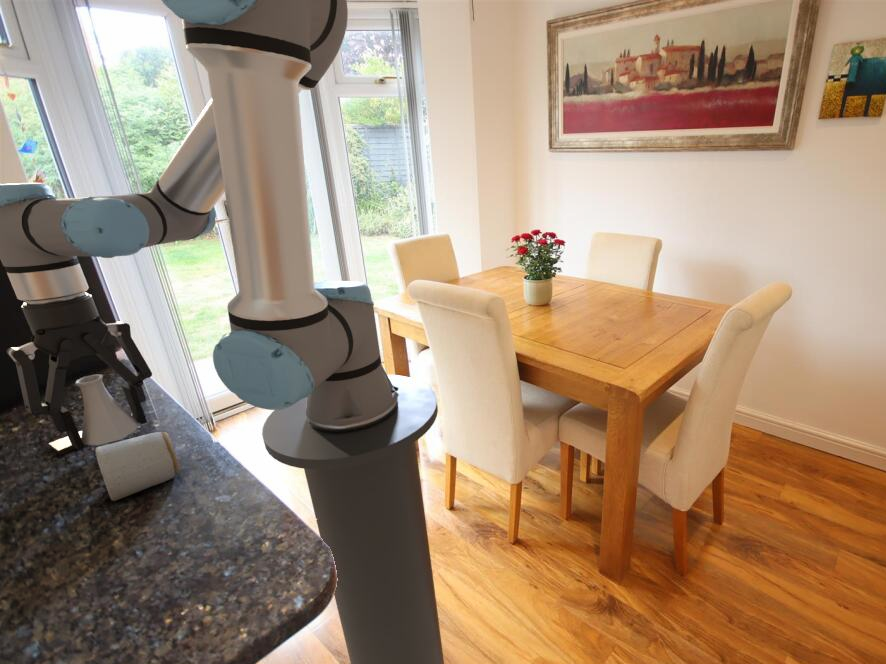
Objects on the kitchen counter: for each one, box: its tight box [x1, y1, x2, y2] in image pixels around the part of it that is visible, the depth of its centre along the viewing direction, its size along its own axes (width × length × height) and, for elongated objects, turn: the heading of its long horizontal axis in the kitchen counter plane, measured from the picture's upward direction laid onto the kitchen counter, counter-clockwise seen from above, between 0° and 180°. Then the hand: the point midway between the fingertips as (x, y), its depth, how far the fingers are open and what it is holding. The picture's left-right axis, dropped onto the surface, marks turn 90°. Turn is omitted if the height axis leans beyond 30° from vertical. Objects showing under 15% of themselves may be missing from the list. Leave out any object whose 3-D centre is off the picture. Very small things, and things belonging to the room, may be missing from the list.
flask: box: [75, 374, 139, 446], centre depth 72 cm, size 7×7×10 cm
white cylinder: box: [95, 431, 181, 502], centre depth 66 cm, size 11×8×8 cm
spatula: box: [48, 413, 133, 456], centre depth 79 cm, size 12×4×1 cm, turn 149°
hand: (111, 432), depth 74 cm, fingers closed on flask, 8 cm apart
